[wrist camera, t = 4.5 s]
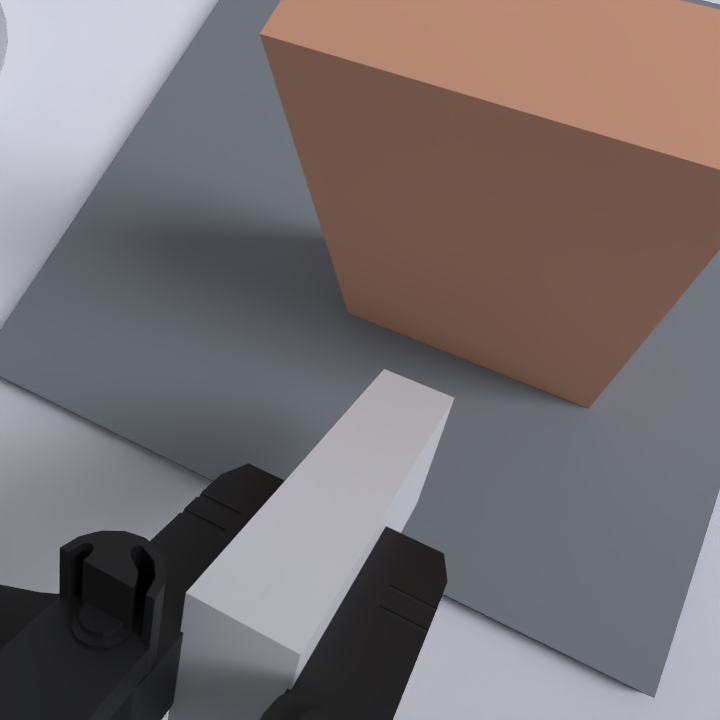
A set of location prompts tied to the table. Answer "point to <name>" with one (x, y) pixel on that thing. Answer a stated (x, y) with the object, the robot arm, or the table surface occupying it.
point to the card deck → (509, 169)
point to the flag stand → (3, 37)
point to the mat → (366, 371)
